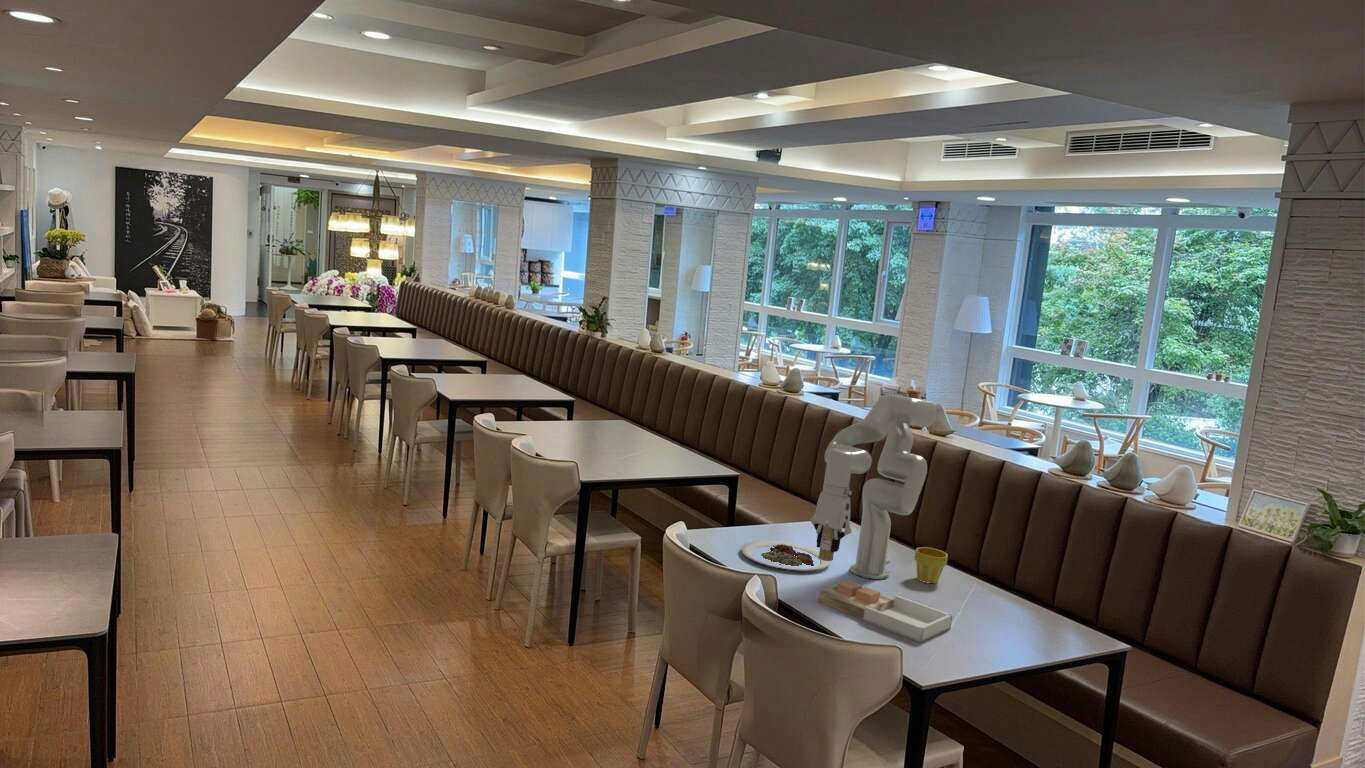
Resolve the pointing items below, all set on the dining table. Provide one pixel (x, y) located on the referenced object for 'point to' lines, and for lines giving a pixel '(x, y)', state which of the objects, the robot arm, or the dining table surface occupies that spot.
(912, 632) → the box
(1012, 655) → the dining table surface
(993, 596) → the dining table surface
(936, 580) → the plant pot
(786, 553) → the plated food
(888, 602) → the grooved oak block
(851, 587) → the rear tile
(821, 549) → the sprinkles bottle
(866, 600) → the front tile
